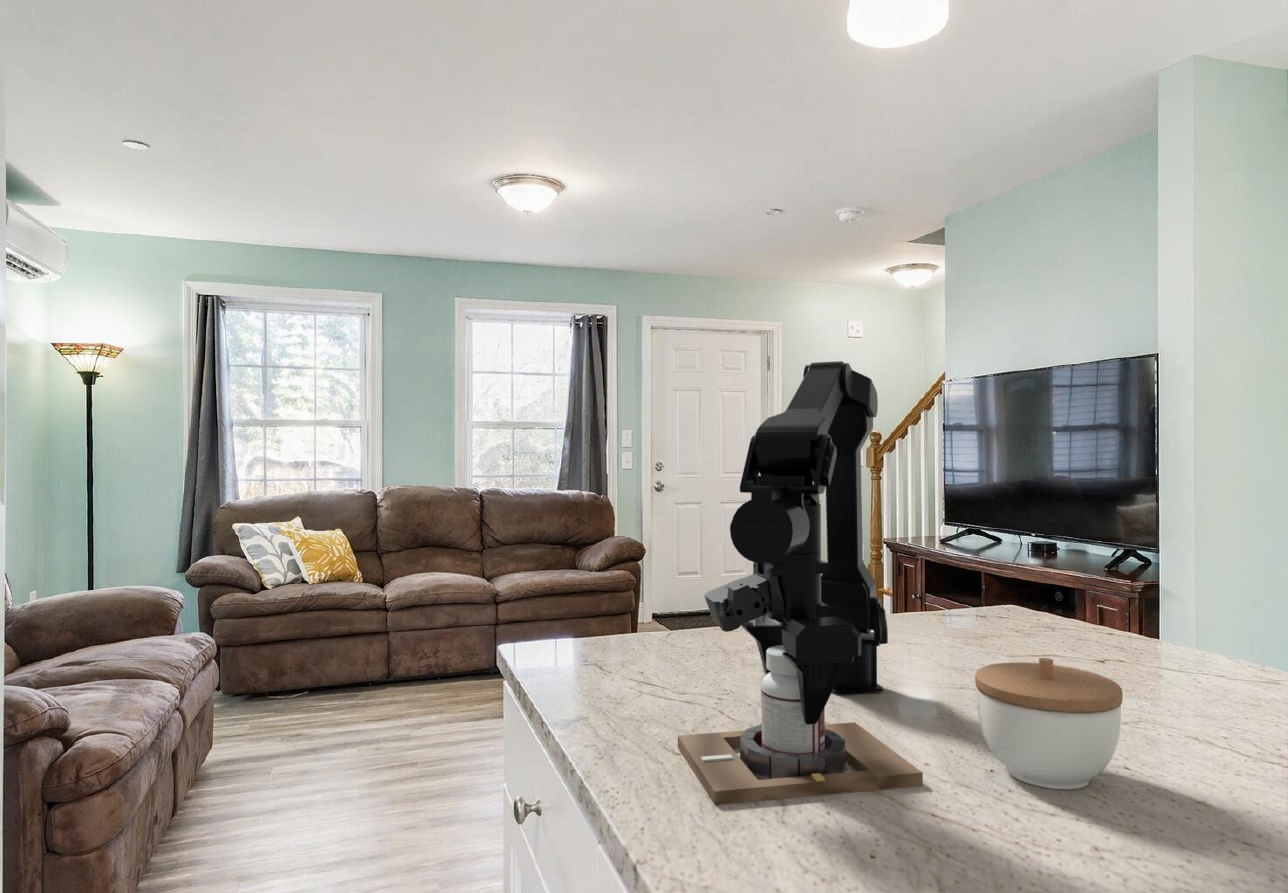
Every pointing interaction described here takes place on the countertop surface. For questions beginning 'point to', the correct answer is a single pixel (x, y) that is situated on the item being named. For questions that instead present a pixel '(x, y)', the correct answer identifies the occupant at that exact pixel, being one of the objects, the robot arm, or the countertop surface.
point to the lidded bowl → (1049, 721)
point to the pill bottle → (786, 710)
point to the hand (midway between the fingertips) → (792, 708)
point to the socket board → (793, 765)
